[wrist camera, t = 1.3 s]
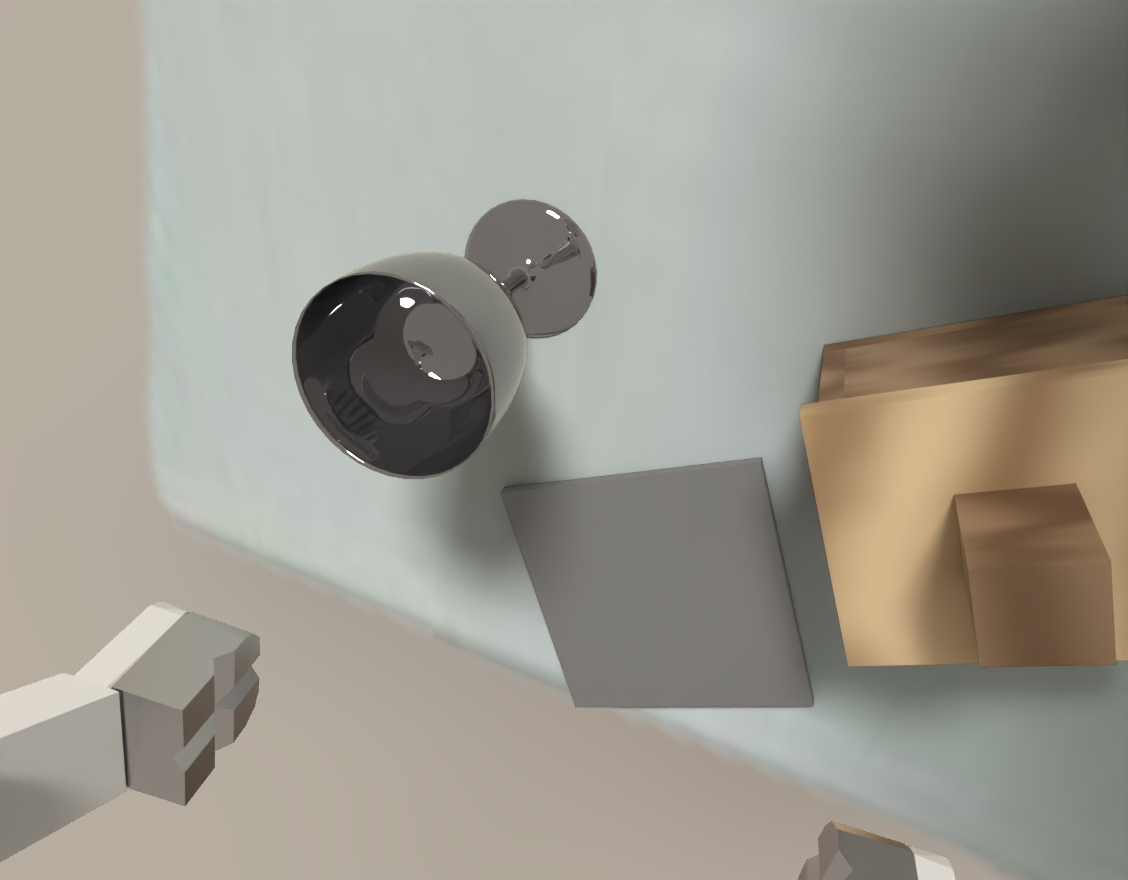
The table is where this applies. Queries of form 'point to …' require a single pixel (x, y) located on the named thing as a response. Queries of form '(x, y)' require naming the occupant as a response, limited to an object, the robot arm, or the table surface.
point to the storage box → (977, 349)
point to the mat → (664, 587)
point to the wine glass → (439, 339)
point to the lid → (978, 519)
